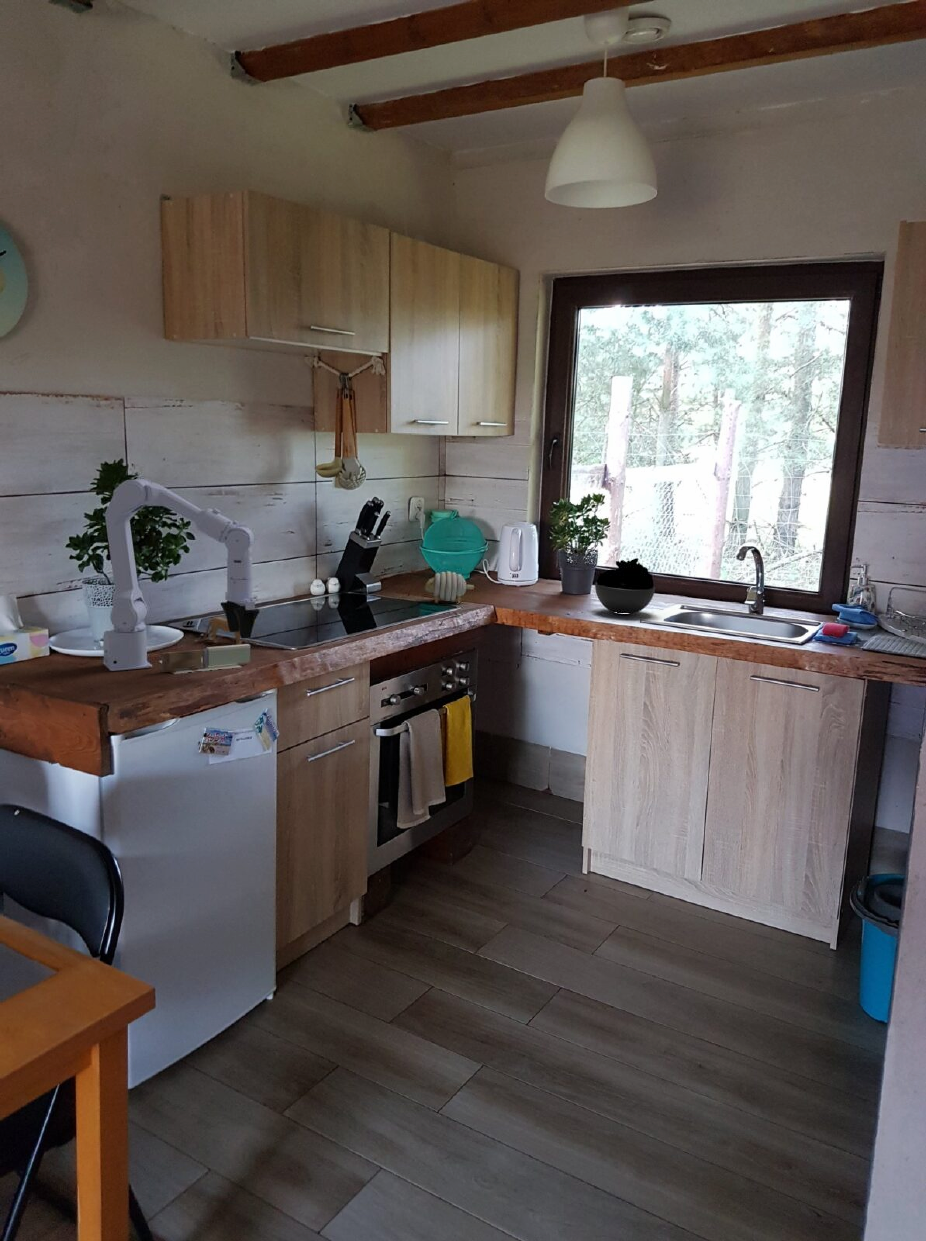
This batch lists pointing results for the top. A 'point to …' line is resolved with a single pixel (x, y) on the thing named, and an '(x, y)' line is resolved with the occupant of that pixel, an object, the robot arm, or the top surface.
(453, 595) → the toy sheep
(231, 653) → the pale green long block
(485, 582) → the top surface
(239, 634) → the lion figurine
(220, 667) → the card
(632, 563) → the bowl of black rocks
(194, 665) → the brown wooden block
